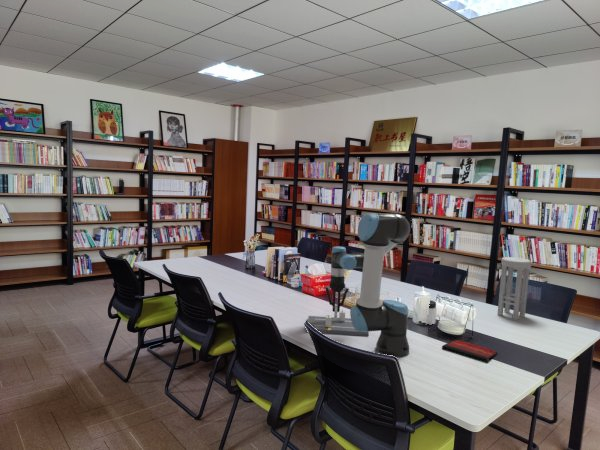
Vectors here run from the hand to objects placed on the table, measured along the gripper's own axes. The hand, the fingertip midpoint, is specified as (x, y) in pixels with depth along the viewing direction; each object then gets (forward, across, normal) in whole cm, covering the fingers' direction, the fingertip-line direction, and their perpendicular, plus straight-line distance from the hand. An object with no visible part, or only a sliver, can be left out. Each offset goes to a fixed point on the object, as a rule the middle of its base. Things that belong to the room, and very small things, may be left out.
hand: (335, 317), depth 229 cm
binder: (+5, -64, +25) cm, 69 cm away
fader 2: (+1, -3, 0) cm, 4 cm away
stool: (+4, -107, -36) cm, 113 cm away
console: (+4, -1, +5) cm, 6 cm away
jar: (+4, -52, -13) cm, 54 cm away
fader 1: (+1, +4, +10) cm, 11 cm away
